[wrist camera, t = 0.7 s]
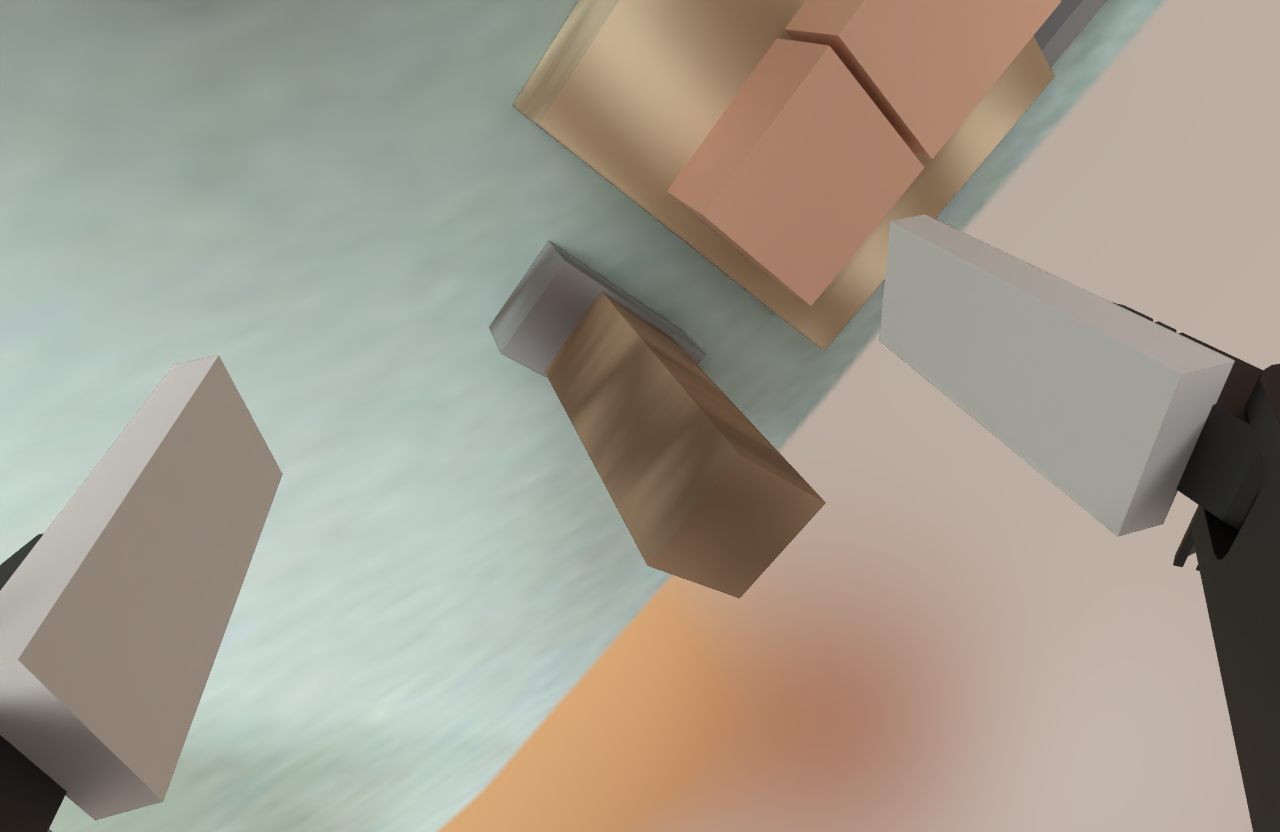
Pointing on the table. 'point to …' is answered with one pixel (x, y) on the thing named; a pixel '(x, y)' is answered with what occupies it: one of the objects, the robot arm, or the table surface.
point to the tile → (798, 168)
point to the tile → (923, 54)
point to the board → (695, 100)
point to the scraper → (656, 427)
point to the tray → (1064, 26)
